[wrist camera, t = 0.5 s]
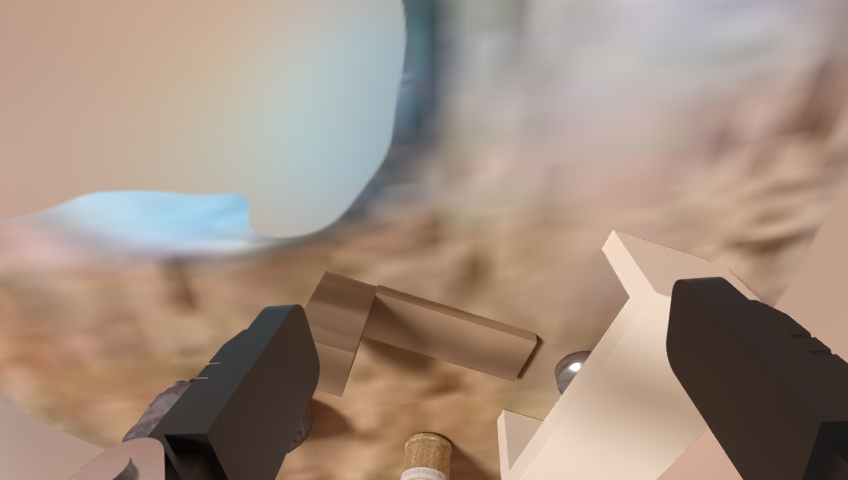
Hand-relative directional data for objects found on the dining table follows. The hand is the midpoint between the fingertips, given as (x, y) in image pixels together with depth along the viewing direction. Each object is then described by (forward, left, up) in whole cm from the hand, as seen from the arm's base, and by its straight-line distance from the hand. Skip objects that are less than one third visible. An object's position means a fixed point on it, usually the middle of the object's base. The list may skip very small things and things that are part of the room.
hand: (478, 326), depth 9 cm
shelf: (+13, +15, -18) cm, 26 cm away
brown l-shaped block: (+15, +2, -18) cm, 23 cm away
